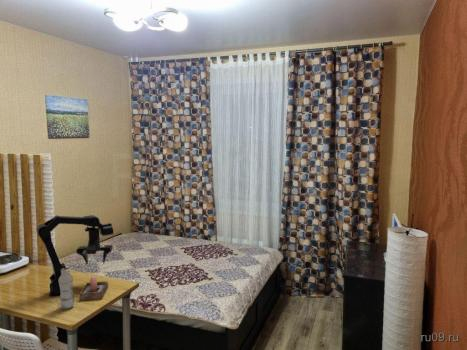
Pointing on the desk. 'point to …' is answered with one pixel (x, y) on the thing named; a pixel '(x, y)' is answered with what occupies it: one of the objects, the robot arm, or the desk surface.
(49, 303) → the desk surface
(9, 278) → the desk surface
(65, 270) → the plastic bottle
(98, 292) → the square frame
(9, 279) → the desk surface
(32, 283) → the desk surface
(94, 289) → the peg
